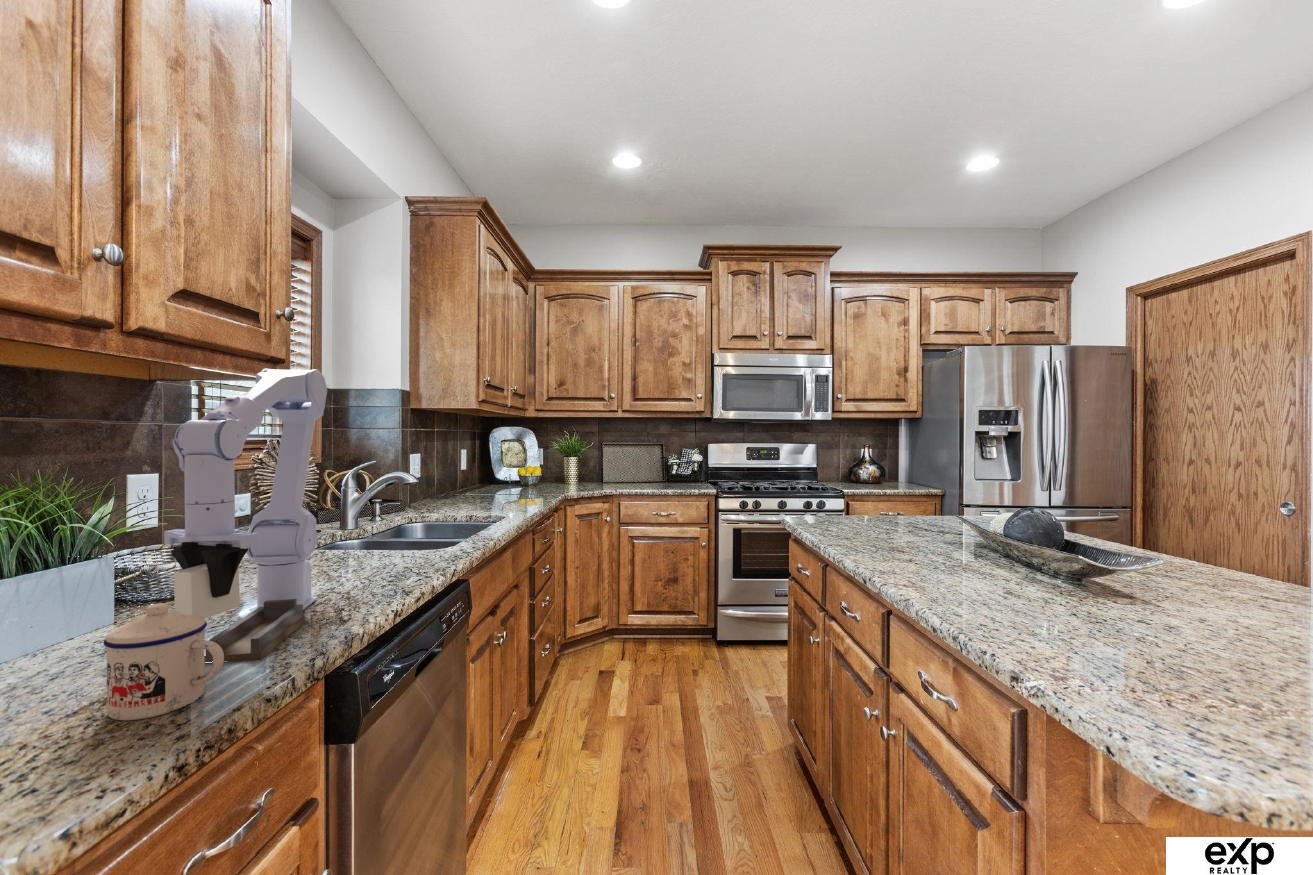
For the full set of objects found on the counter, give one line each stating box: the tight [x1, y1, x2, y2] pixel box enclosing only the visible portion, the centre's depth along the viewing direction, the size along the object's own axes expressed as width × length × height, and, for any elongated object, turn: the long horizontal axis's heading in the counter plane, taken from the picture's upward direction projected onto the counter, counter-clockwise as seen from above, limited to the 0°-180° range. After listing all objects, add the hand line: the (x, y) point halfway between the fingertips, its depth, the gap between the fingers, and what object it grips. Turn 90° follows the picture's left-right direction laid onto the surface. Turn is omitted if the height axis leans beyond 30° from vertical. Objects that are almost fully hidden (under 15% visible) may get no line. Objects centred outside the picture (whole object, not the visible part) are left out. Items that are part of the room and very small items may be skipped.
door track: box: [205, 599, 306, 662], centre depth 86 cm, size 16×7×4 cm, turn 13°
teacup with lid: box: [103, 602, 225, 721], centre depth 66 cm, size 12×9×12 cm
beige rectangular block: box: [173, 564, 241, 620], centre depth 81 cm, size 3×7×7 cm, turn 168°
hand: (211, 594), depth 82 cm, fingers closed on beige rectangular block, 3 cm apart
